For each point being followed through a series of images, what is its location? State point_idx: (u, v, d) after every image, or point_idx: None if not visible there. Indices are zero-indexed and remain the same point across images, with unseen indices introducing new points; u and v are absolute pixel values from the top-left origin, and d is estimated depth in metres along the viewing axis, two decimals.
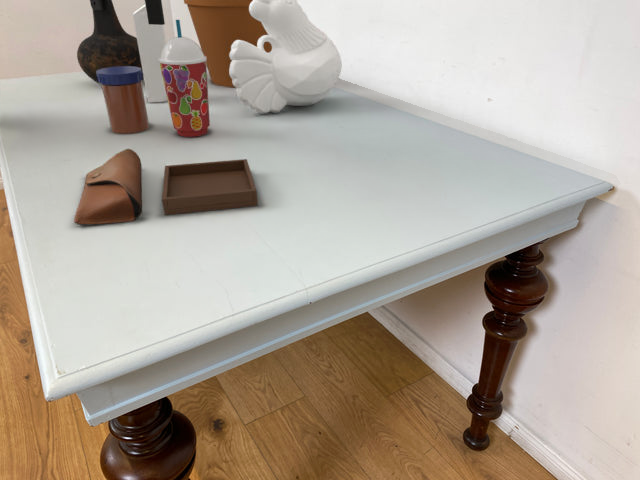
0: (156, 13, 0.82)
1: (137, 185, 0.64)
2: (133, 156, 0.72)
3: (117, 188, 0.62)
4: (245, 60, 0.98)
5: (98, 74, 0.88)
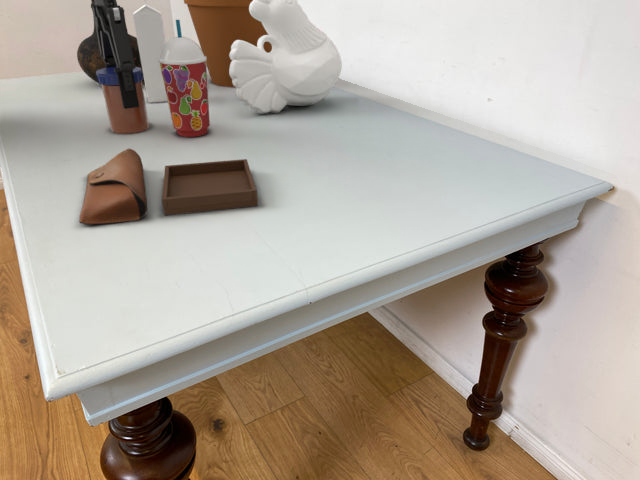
0: None
1: (141, 184, 0.64)
2: (135, 156, 0.72)
3: (122, 187, 0.62)
4: (245, 60, 0.98)
5: (98, 74, 0.88)
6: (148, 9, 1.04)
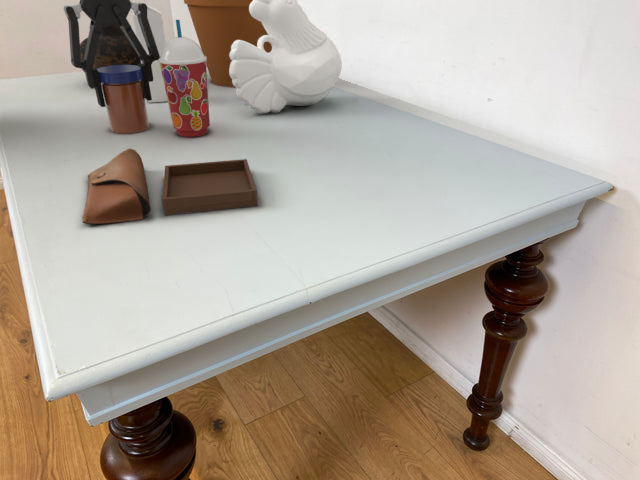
0: (145, 90, 0.94)
1: (143, 184, 0.64)
2: (136, 156, 0.72)
3: (124, 187, 0.62)
4: (245, 60, 0.98)
5: (129, 73, 0.87)
6: (148, 9, 1.04)
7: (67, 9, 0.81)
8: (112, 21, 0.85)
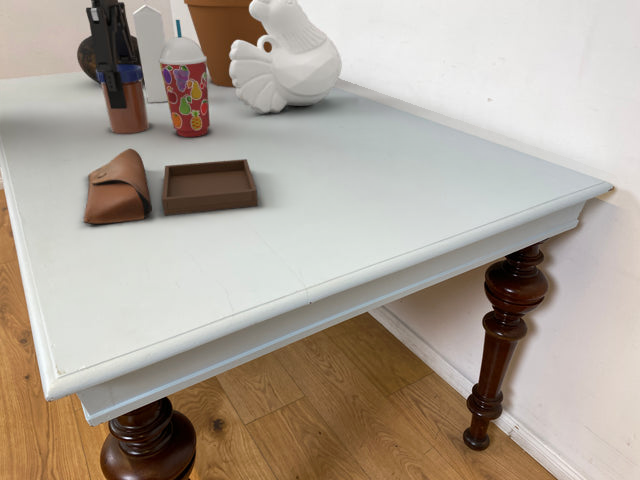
0: None
1: (144, 184, 0.64)
2: (136, 155, 0.72)
3: (125, 187, 0.62)
4: (245, 60, 0.98)
5: None
6: (148, 9, 1.04)
7: (101, 10, 0.79)
8: None
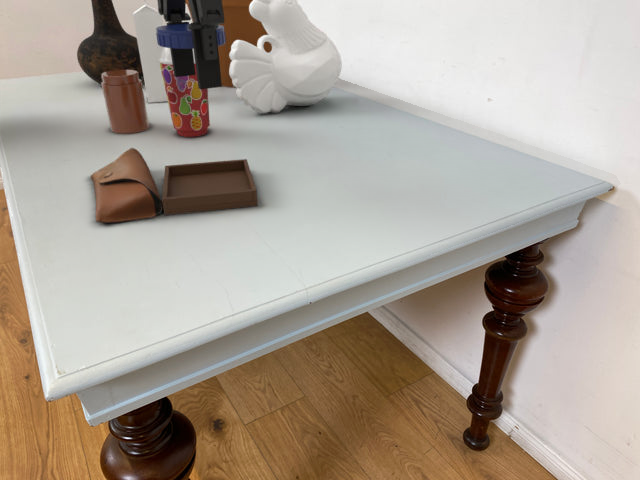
0: (187, 61, 0.63)
1: (153, 182, 0.65)
2: (139, 155, 0.73)
3: (135, 185, 0.62)
4: (245, 60, 0.98)
5: None
6: (148, 9, 1.04)
7: None
8: None
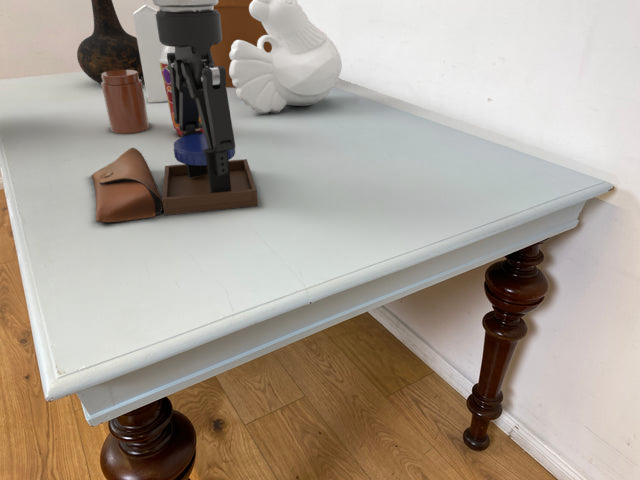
0: None
1: (153, 182, 0.65)
2: (139, 155, 0.73)
3: (136, 185, 0.63)
4: (245, 60, 0.98)
5: None
6: (148, 9, 1.04)
7: (224, 70, 0.56)
8: None
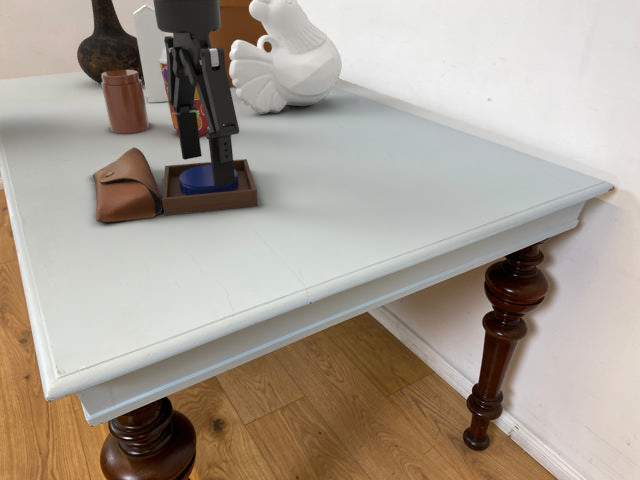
0: (194, 146, 0.70)
1: (154, 182, 0.65)
2: (141, 154, 0.73)
3: (136, 185, 0.63)
4: (245, 60, 0.98)
5: None
6: (148, 9, 1.04)
7: None
8: None
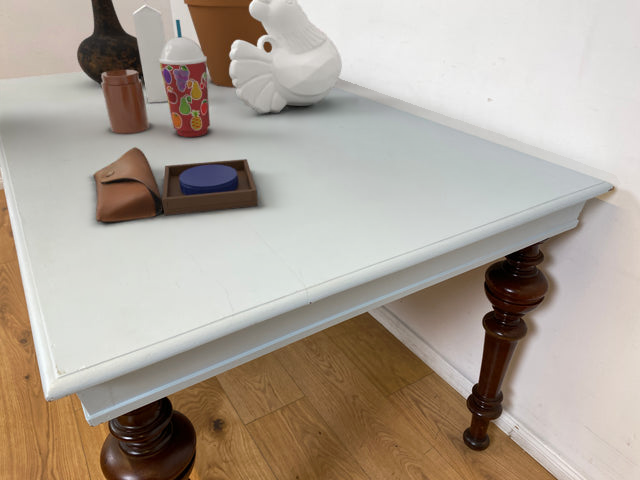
0: None
1: (154, 182, 0.65)
2: (141, 154, 0.73)
3: (136, 185, 0.63)
4: (245, 60, 0.98)
5: None
6: (148, 9, 1.04)
7: None
8: None
